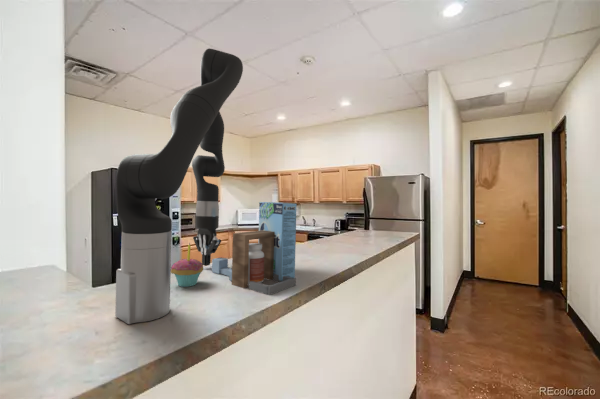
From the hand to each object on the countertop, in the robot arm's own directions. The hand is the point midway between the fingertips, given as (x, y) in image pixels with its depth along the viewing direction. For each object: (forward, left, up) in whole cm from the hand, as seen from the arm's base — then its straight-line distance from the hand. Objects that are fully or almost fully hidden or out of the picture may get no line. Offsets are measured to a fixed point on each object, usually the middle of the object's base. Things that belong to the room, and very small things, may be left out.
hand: (206, 265), depth 99 cm
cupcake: (-14, -11, -1) cm, 18 cm away
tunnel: (0, -23, -1) cm, 23 cm away
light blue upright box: (+10, -22, -1) cm, 24 cm away
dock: (0, -30, -1) cm, 30 cm away
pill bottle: (0, -23, -1) cm, 23 cm away
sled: (0, -12, -1) cm, 12 cm away
